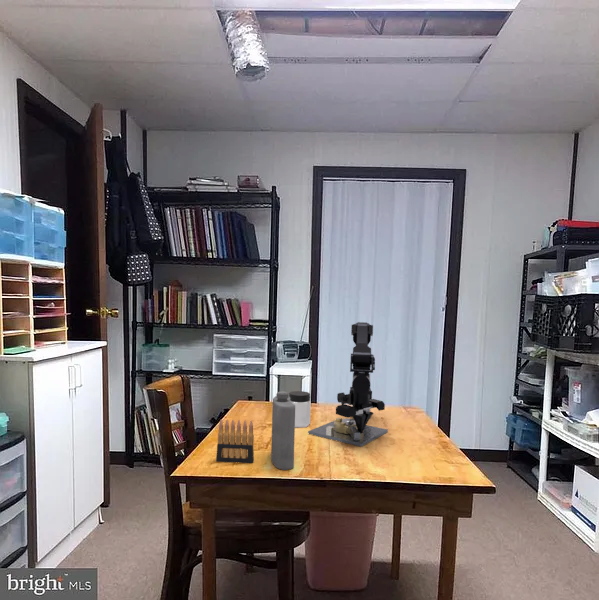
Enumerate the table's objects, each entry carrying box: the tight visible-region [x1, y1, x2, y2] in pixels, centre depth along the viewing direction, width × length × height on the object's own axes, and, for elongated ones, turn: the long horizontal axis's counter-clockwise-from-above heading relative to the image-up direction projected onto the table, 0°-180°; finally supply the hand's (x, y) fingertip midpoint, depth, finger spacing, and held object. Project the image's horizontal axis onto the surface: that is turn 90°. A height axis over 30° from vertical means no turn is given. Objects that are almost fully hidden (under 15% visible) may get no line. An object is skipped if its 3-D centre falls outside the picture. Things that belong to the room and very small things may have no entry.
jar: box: [288, 390, 312, 428], centre depth 164 cm, size 9×8×12 cm
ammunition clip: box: [215, 419, 255, 464], centre depth 124 cm, size 11×2×12 cm, turn 88°
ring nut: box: [333, 417, 364, 440], centre depth 151 cm, size 17×10×3 cm, turn 7°
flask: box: [270, 390, 296, 471], centre depth 126 cm, size 15×6×20 cm, turn 9°
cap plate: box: [307, 417, 389, 448], centre depth 155 cm, size 21×21×5 cm
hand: (360, 432), depth 147 cm, fingers closed
